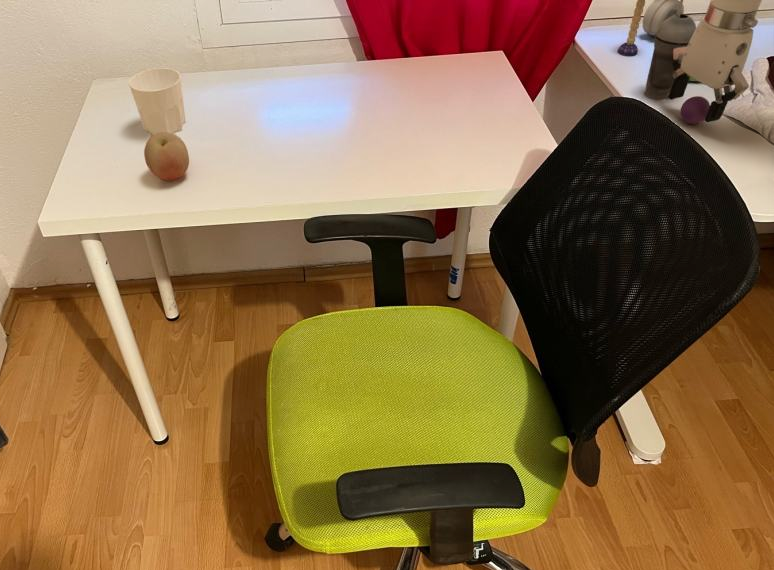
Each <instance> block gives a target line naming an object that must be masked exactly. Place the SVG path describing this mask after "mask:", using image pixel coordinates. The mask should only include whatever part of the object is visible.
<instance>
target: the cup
mask: <svg viewBox="0 0 774 570" xmlns="http://www.w3.org/2000/svg"><path fill="white" fill-rule="evenodd" d="M128 86H129V89H130V91H131V95H132V97H133V100H134V103H135V105H136V109H137V112H138V114H139V118H140V122H141V124H142V127H143V130H144V131H147V132H148V133H150V134H151V136H153V135H154V134H156V133H160V132H167V133H172V134H175V133H177V132H181V131H183V125H184V124H186V123H187V120H186V114H185V113H186V112H185V105H184V97H183V87H182V77H181V74H180V72H179V71H177V70H176V69H172V68H167V67H155V68H149V69H145V70H142V71H140V72H138V73H136V74H134V75H132V77H130V78H129V81H128Z"/></svg>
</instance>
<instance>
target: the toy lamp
mask: <svg viewBox="0 0 774 570" xmlns="http://www.w3.org/2000/svg"><path fill="white" fill-rule="evenodd" d="M645 5H646V0H637V1H636V4H635V8H634V11H633V16H632V17H631V23H630V26H629V31H628V33H627V34H628V35H627V36H628V37H627V38H626V42H624V43H622V44H621V45H620V46H619V47H618V48H617V53H618V54H619V55H622V56H628V57H629V56H630V57H631V56H635V55H638V53H639V49H638V46H637V44H635V42H636V37H637V35H638V29H639V27H640V22H641V20H642V14H643V12H644V7H645Z"/></svg>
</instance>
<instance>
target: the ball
mask: <svg viewBox="0 0 774 570" xmlns="http://www.w3.org/2000/svg"><path fill="white" fill-rule="evenodd" d="M710 105H711V103H710V102H709V100H708V99H707V98H705V97H703V96H700V95H696V96H692V97H689V98H688V99H686V100H685V101H684V102H683V103H682V104H681V107H680V112H679V114H680V117H681V119H682V120H683V122H684V123H687V124H690V125H696V124H700V123H702V122H704V121H705V120H704V119H705V117H706V115H707V112H708V110H709V107H710Z"/></svg>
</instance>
